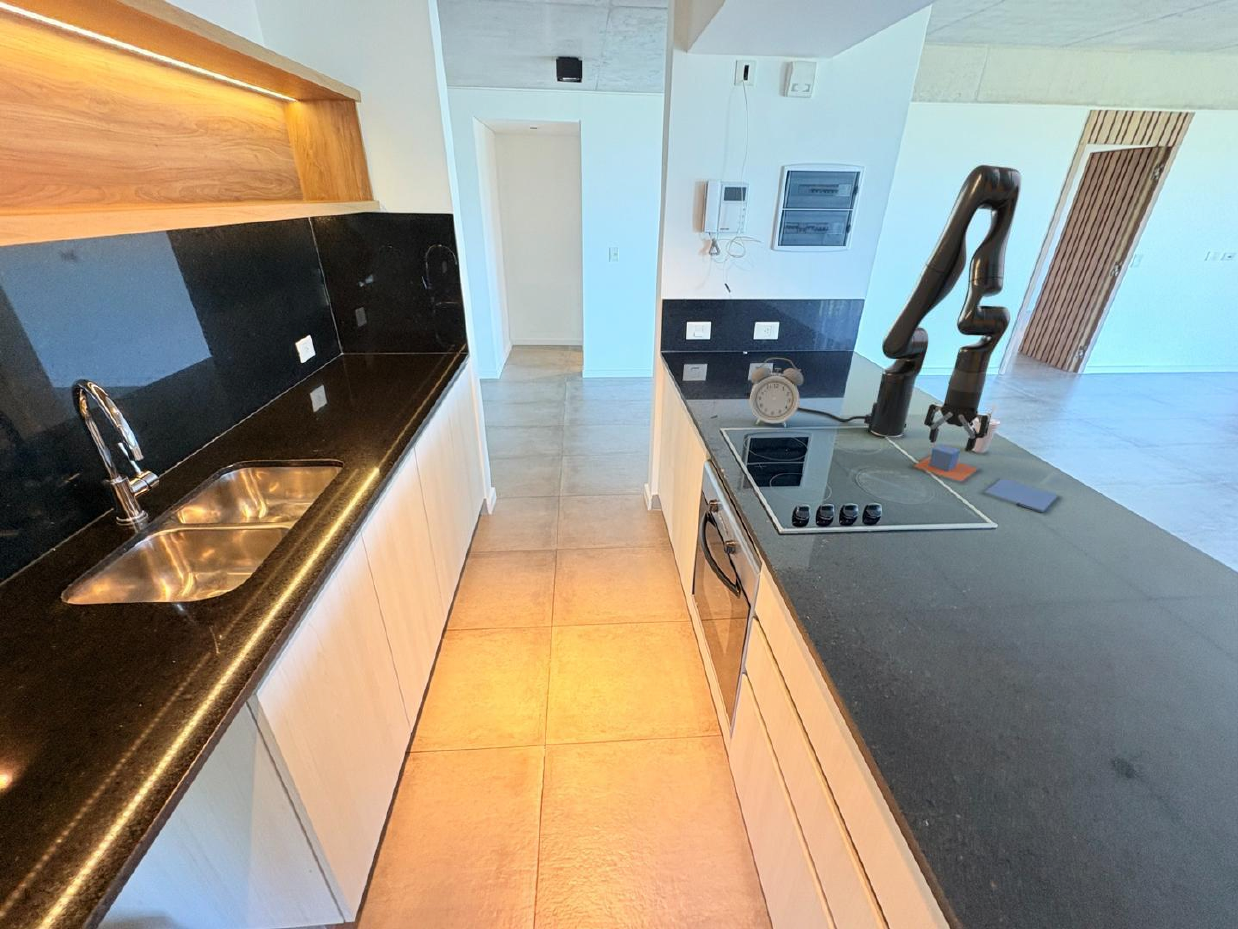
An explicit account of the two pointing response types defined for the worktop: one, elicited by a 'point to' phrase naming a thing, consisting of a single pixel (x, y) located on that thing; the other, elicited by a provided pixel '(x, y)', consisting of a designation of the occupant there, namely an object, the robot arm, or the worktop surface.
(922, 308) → the robot arm
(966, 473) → the terracotta mat
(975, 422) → the smoothie
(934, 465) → the blue block
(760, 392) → the alarm clock
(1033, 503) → the blue mat
